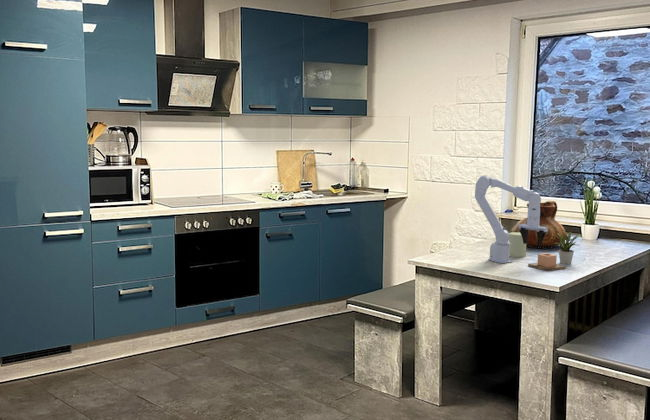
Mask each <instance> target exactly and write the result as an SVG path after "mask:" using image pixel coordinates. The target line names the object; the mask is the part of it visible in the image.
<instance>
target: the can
mask: <svg viewBox="0 0 650 420" xmlns="http://www.w3.org/2000/svg"><path fill="white" fill-rule="evenodd" d="M508 242H509V243H510V251H509V257H512V258H526V257H527V246H526V244H523V239H522V235H521V233H520V232H511V231H510V232H509V241H508Z"/></svg>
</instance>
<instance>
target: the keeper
mask: <svg viewBox="0 0 650 420" xmlns="http://www.w3.org/2000/svg"><path fill="white" fill-rule="evenodd" d="M537 263H538V262H532V263H528V265H527V266H528V267H530V268H534V269H537V270H541V271H546V272H550V271H559V270H566V268H567V266H565V265H563V264H562V265H561V264H558V263H556V266H550V267H546V266H542V265H538V264H537Z"/></svg>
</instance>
